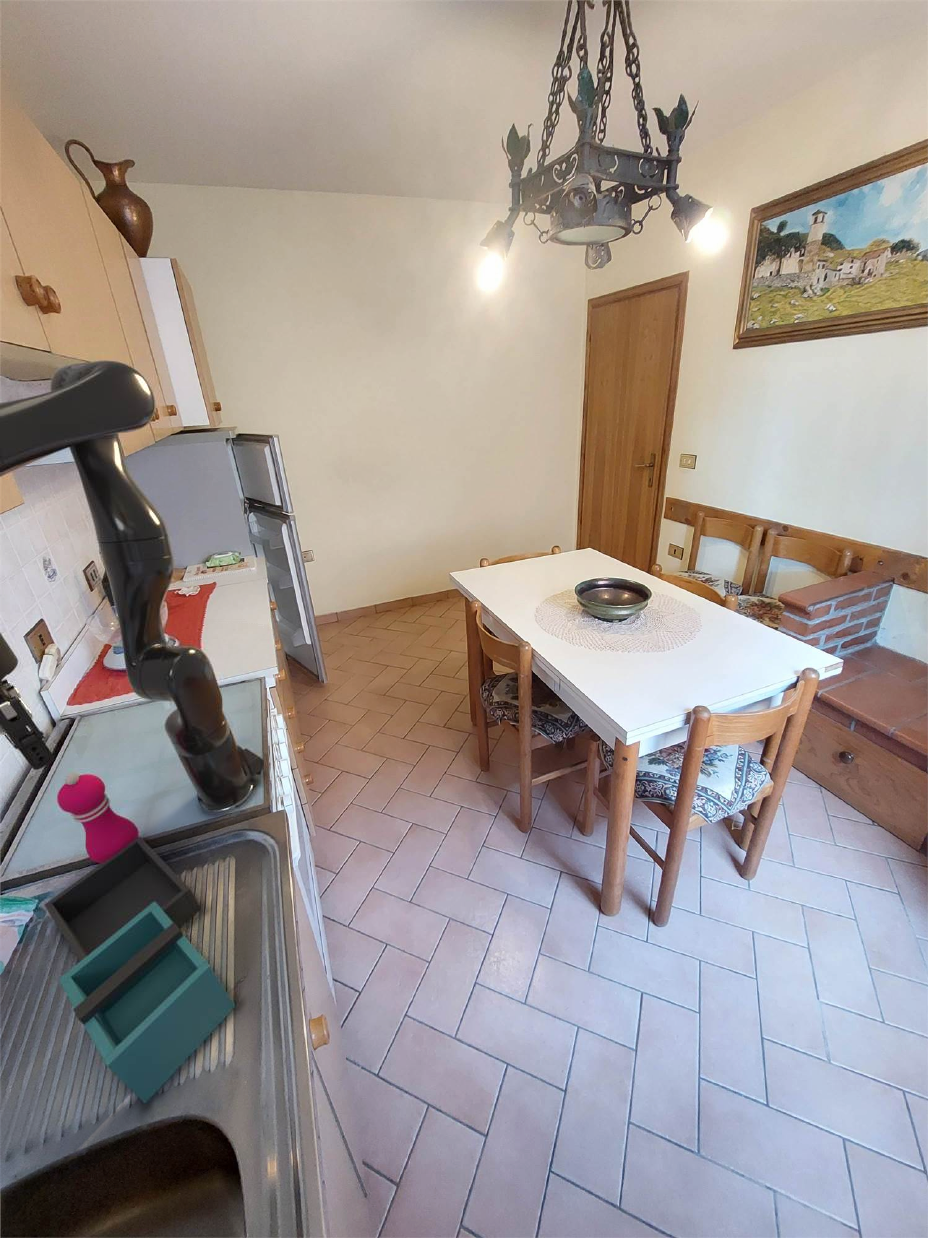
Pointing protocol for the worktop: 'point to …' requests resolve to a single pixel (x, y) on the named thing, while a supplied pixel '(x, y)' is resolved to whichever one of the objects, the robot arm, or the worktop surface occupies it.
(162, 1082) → the teal tote
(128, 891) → the charcoal bin
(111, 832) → the pepper mill
